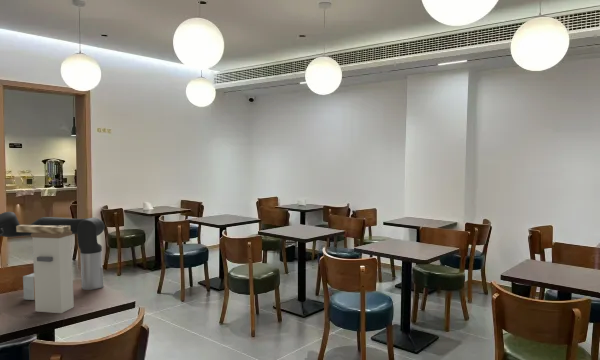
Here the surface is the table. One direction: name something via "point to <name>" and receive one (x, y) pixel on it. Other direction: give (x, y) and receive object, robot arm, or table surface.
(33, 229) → the tan wooden plank
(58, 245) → the white tall carton
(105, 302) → the table surface
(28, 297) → the small box
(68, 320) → the table surface
